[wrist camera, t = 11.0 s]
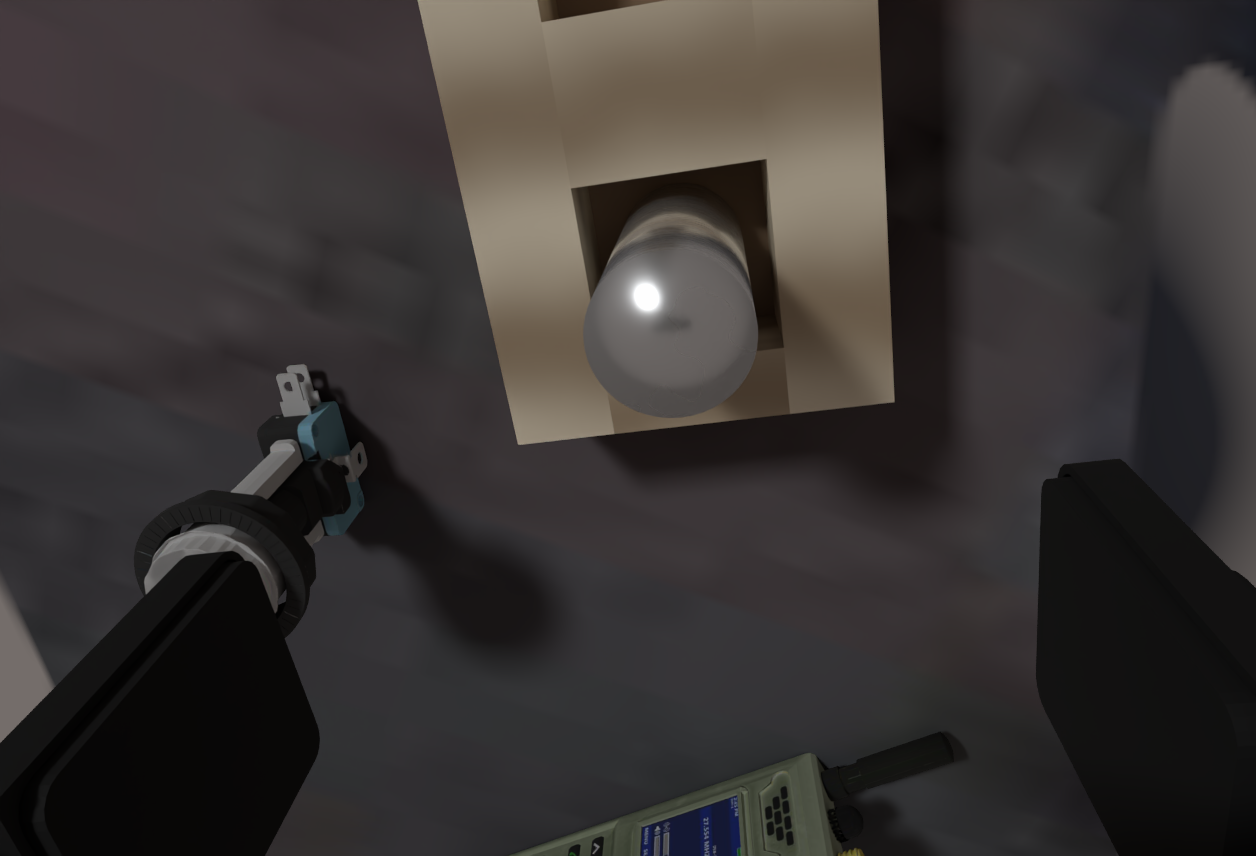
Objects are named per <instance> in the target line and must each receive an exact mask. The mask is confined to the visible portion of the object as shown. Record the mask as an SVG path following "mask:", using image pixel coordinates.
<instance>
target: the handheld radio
mask: <svg viewBox="0 0 1256 856" xmlns="http://www.w3.org/2000/svg"><path fill="white" fill-rule="evenodd" d="M952 762H954V759H953V750H952V747H951V745H950V743H949V741H948V739H947V738H946V737H945V736H944V735H943V734H942V733H941V732H938V733H935V734H932V735H929V736H926V737H923V738H920V739H917V740H914V741H911V742H908V743H905V744H902V745H899V746H896V747H893V748H890V749H887V750H884V751H881V752H878V753H875V754H873V755H870V756H867V757H864V758H861V759H858V760H857V763H854V764H851V765H848V766H845V767H842V768H840V767H839V766H837V767H834V768H831V769H828V770H825V771H824V769H823V767H822V765H821V763H820V762H819V760H818V758H817V756H816V755H814V754H812V753H807V754H802V755H800V756H797V757H794V758H791V759H788V760H785V761H782V762H779V763H776V764H773V765H770V766H767V767H765V768H762V769H759V770H756V771H753V772H750V773H747V774H744V775H741V776H738V777H735V778H733V779H730V780H727V781H724V782H721V783H718V784H715V785H712V786H709V787H706V788H703V789H701V790H698V791H695V792H692V793H689V794H686V795H683V796H680V797H677V798H674V799H671V800H668V801H666V802H663V803H660V804H657V805H654V806H651V807H648V808H645V809H642V810H639V811H636V812H634V813H631V814H628V815H625V816H622V817H619V818H616V819H613V820H610V821H607V822H604V823H602V824H599V825H596V826H593V827H590V828H587V829H584V830H581V831H578V832H575V833H572V834H569V835H567V836H564V837H561V838H558V839H555V840H552V841H549V842H546V843H543V844H540V845H537V846H535V847H532V848H529V849H526V850H523V851H520V852H517V853H514V854H511V855H508V856H864V854H863V852H862V850H861V849H858V848H854V850H852V849H850V850H849V851H848V852H847V851H844V852H843V851H842V846H841V843H842V842H845V841H848V840H849V839H850V838H853V837H856V836H858V835H859V834H860V833H861V831H862V829H863V819H862V816H861V814H860V813H859V811H858V810H857V809H855V808H854V807H851V806H843V807H840V808H837V807H836V808H837V809H836V808H834V803H833V801H836V800H839V799H842V798H845V797H848V796H849V795H850V793H851V792H854V791H857V790H860V789H863V788H866V787H867V788H868V789H869V788H872V787H875V786H879V785H882V784H885V783H888V782H891V781H894V780H898V779H901V778H904V777H907V776H910V775H914V774H917V773H920V772H923V771H926V770H929V769H933V768H936V767H939V766H942V765H945V764H949V763H952ZM836 818H837V819H836ZM837 822H838V824H837ZM838 828H840V829H841V830H838ZM839 832H841V833H842V834H839Z"/></svg>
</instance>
